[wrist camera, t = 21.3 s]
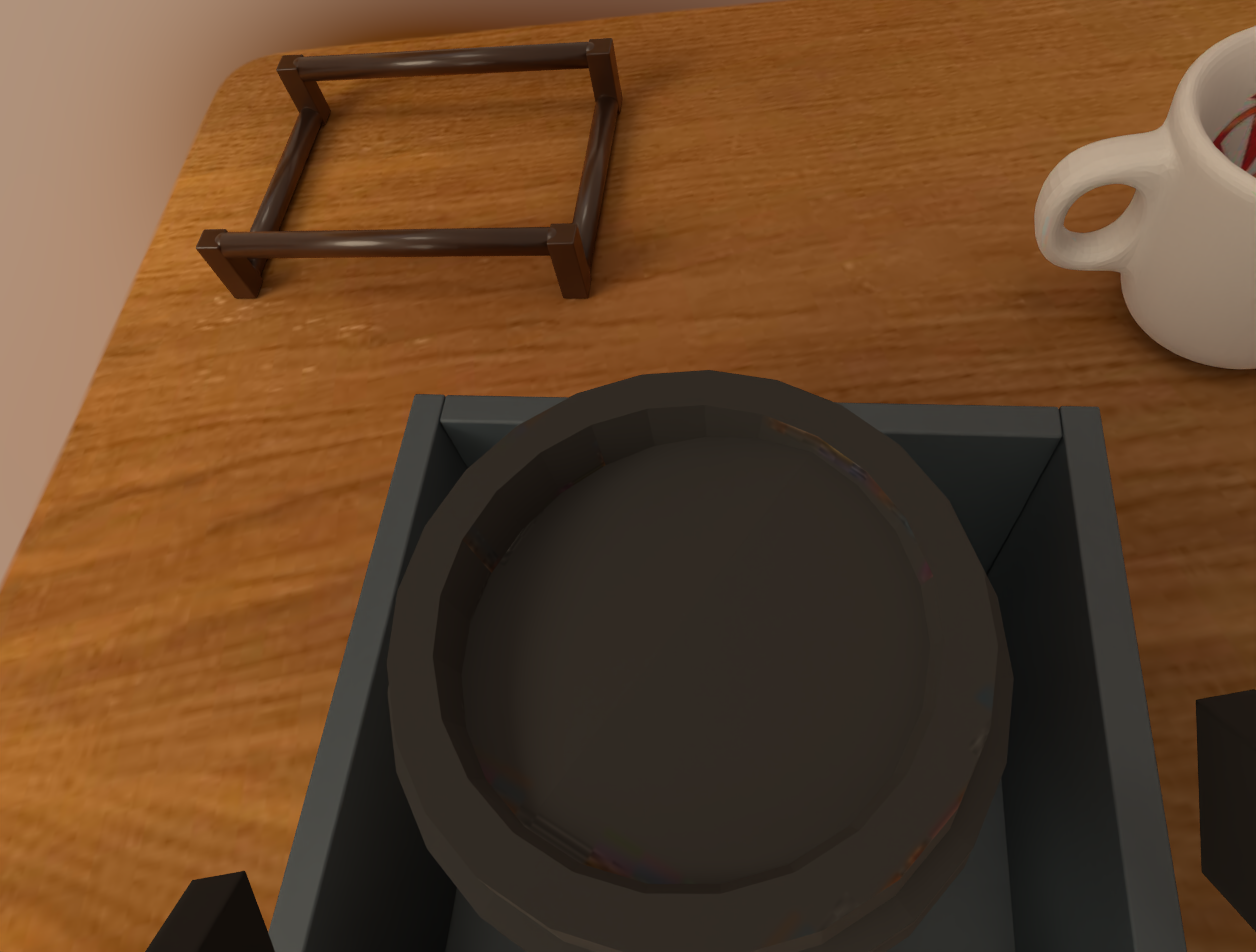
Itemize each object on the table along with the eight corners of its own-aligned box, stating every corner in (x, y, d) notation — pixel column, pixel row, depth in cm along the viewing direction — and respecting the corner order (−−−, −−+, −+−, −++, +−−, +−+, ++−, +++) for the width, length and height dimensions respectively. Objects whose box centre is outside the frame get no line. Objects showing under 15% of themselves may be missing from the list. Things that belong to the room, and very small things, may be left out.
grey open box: (396, 1115, 22) (196, 1190, 14) (507, 545, 30) (414, 393, 22) (1064, 1228, 20) (1260, 1397, 12) (1004, 570, 27) (1099, 406, 19)
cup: (1013, 398, 30) (1087, 223, 23) (995, 221, 33) (1053, 25, 27) (1380, 405, 28) (1583, 216, 21) (1317, 216, 32) (1471, 3, 25)
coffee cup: (511, 845, 24) (210, 692, 11) (694, 606, 27) (623, 256, 14) (771, 1079, 21) (776, 1251, 8) (951, 780, 23) (1180, 536, 10)
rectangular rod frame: (234, 299, 37) (192, 246, 34) (312, 111, 42) (280, 52, 40) (588, 298, 34) (572, 241, 32) (622, 98, 40) (612, 35, 37)
